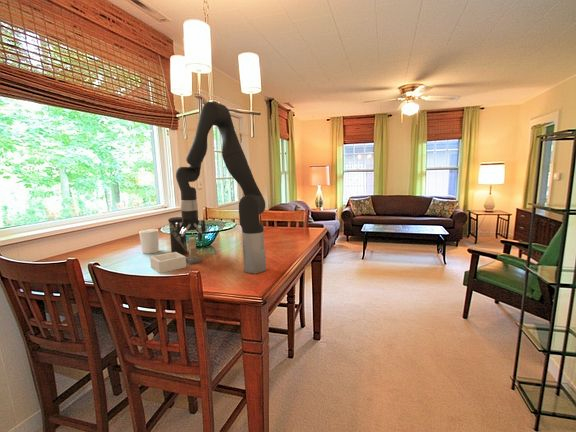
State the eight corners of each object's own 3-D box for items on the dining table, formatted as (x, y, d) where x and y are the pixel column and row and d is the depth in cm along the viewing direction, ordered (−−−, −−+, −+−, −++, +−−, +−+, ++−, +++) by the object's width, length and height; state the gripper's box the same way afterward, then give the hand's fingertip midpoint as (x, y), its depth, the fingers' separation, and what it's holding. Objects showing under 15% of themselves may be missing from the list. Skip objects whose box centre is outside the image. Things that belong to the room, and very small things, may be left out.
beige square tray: (186, 267, 139) (185, 256, 138) (159, 273, 131) (158, 262, 130) (176, 261, 148) (175, 251, 147) (150, 267, 140) (149, 256, 139)
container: (169, 256, 157) (166, 218, 154) (171, 252, 166) (168, 216, 163) (187, 255, 159) (184, 217, 157) (188, 250, 168) (185, 215, 165)
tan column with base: (201, 261, 147) (200, 237, 145) (189, 264, 143) (188, 239, 141) (196, 259, 151) (194, 235, 150) (184, 261, 147) (183, 237, 146)
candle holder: (155, 253, 163) (153, 232, 161) (137, 254, 163) (135, 232, 162) (163, 249, 173) (161, 228, 171) (146, 249, 173) (144, 229, 171)
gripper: (177, 211, 136) (180, 246, 138) (207, 208, 145) (208, 241, 148) (171, 209, 141) (173, 243, 144) (200, 207, 151) (201, 238, 153)
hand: (191, 242), depth 146 cm, fingers open, 8 cm apart
